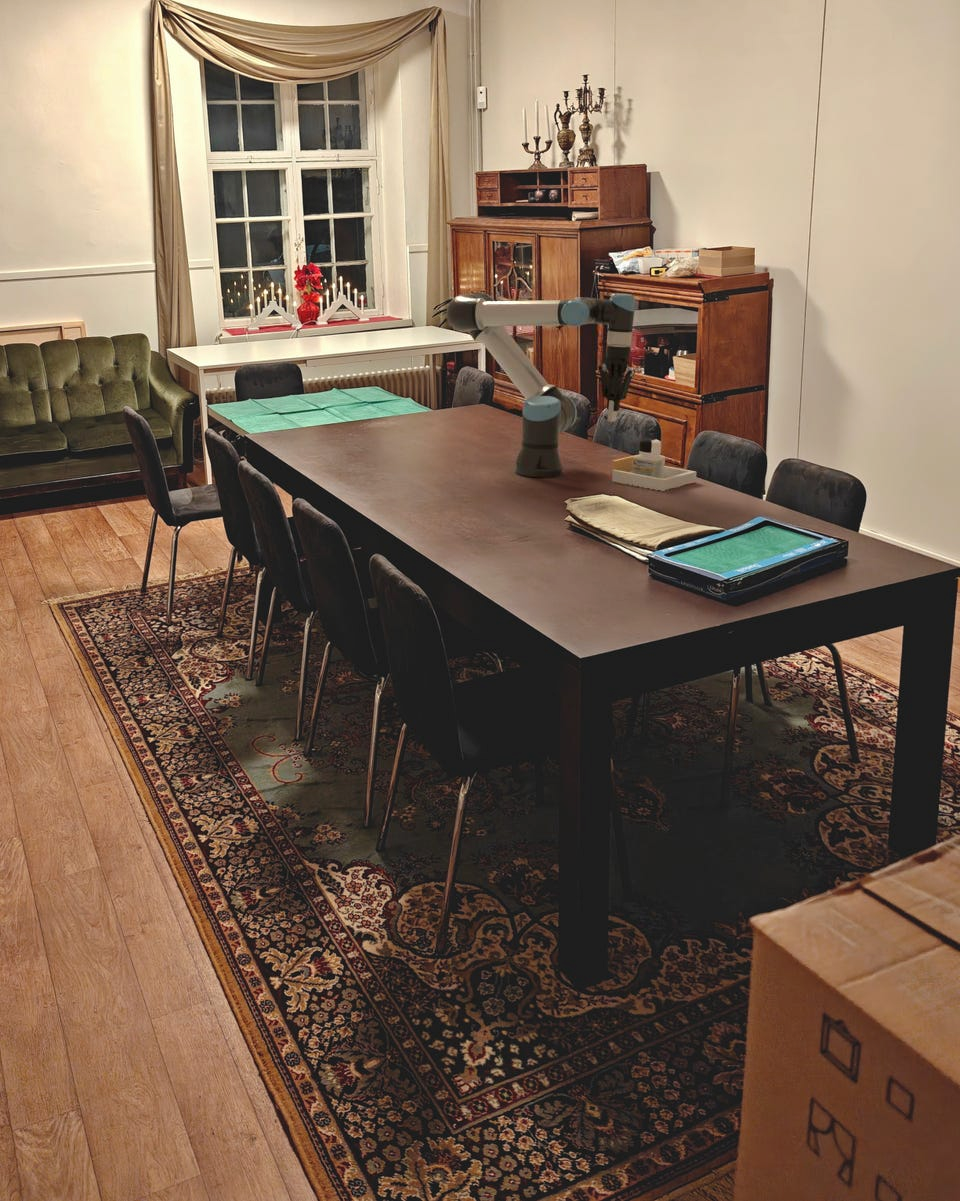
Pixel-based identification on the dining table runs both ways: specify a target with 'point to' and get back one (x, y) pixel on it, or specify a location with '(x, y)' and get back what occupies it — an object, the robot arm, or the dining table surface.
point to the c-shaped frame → (653, 481)
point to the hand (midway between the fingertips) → (611, 420)
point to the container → (649, 459)
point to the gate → (623, 464)
